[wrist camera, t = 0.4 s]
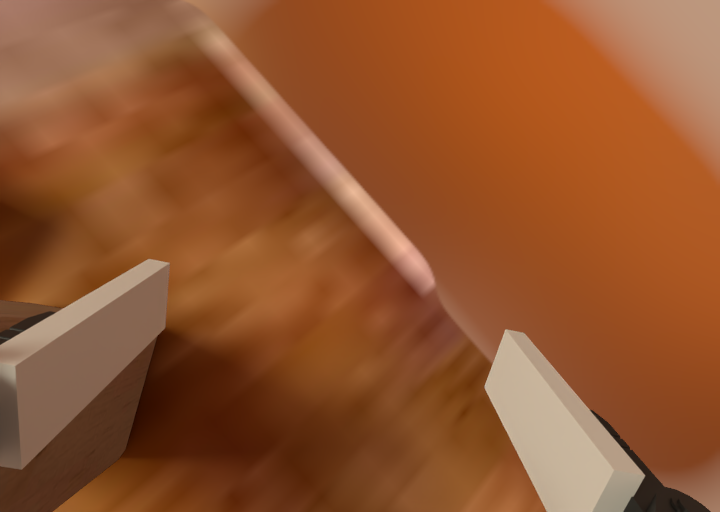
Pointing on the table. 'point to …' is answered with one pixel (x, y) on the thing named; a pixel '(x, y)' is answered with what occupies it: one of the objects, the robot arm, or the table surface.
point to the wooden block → (74, 434)
